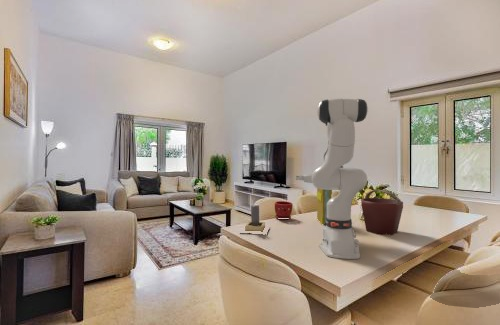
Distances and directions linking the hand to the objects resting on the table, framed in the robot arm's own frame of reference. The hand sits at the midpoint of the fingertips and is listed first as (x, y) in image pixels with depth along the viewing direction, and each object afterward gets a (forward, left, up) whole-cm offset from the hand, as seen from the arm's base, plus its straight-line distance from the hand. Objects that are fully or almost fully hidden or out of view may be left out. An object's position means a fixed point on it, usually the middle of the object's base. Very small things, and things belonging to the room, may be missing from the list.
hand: (295, 177), depth 154 cm
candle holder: (-7, +24, -32) cm, 41 cm away
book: (+24, -19, -32) cm, 44 cm away
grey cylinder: (-7, +24, -31) cm, 40 cm away
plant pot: (+28, +9, -32) cm, 44 cm away
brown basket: (+6, -50, -32) cm, 60 cm away
